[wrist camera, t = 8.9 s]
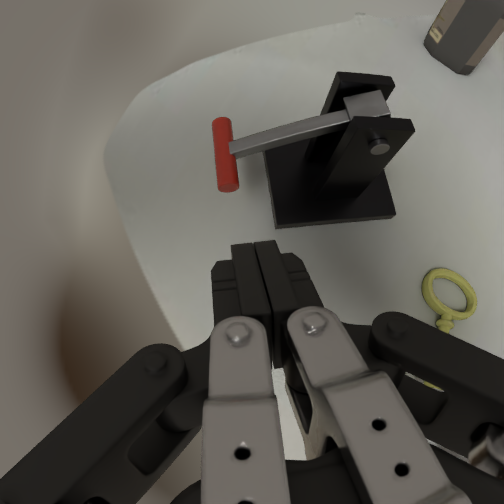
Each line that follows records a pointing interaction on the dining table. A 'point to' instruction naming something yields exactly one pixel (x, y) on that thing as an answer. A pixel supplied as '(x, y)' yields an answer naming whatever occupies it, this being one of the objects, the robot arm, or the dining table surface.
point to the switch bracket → (338, 164)
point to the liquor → (465, 32)
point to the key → (443, 310)
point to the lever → (286, 134)
